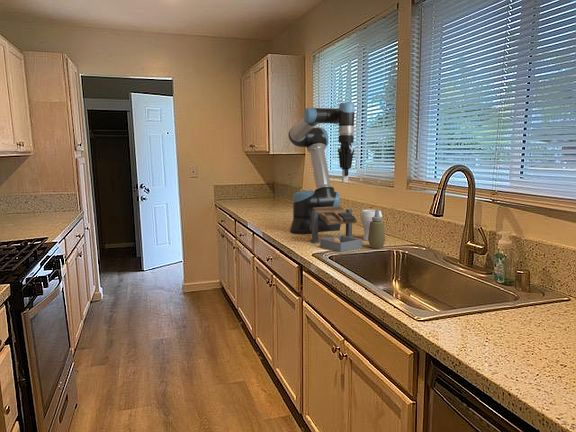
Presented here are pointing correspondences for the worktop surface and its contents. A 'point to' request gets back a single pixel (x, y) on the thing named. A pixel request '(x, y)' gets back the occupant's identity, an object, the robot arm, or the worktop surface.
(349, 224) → the lever stand
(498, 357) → the worktop surface
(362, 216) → the cup
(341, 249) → the tray
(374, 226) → the squeeze bottle
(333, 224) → the tipping lever
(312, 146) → the robot arm
